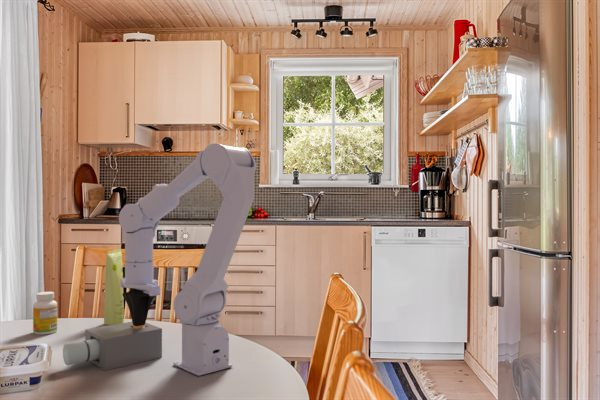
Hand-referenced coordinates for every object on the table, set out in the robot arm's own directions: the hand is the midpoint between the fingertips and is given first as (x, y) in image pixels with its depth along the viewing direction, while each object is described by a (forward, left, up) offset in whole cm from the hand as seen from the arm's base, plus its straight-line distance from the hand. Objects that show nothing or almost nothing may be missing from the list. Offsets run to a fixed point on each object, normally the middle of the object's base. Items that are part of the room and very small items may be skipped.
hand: (139, 325), depth 111 cm
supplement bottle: (+33, +8, -6) cm, 35 cm away
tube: (+30, -8, -6) cm, 32 cm away
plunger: (0, 0, -3) cm, 3 cm away
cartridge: (0, +8, -5) cm, 10 cm away
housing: (0, +3, -6) cm, 7 cm away
